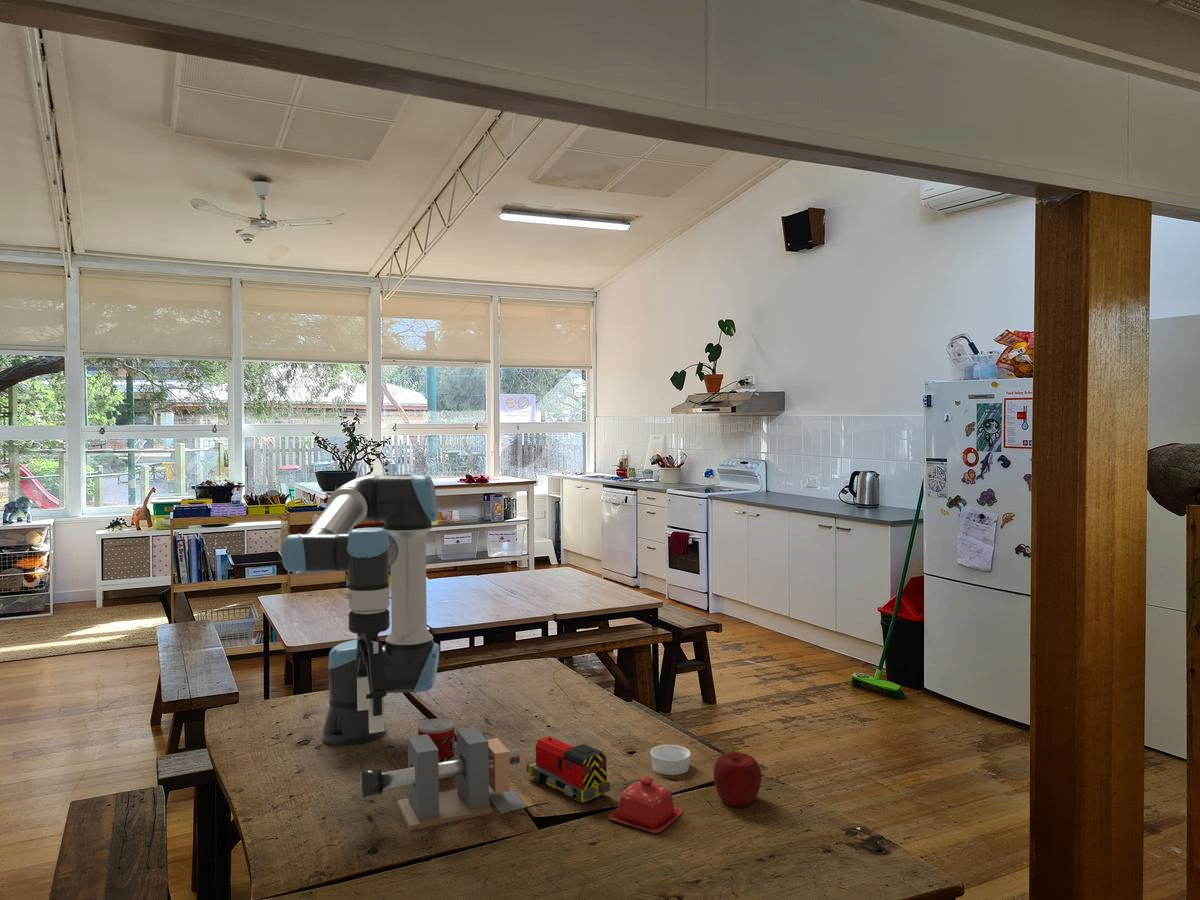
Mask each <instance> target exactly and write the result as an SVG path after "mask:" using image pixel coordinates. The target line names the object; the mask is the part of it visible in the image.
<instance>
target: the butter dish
mask: <svg viewBox="0 0 1200 900" xmlns="http://www.w3.org/2000/svg"><path fill="white" fill-rule="evenodd" d="M653 781H654V780H653V777H651V776H649V775H643V776H641V777H640V778H639V781H635V782H633V783H631V784H630V785H628V786H627V787H626V788H625V789H623V791H622V792H621V795H620V797H619V801H618V806H617V808H616V809H615V810H614V811H613V812H611V813H610V814H609V816H608V819H609V820H611V821H613V822H617V823H620V824H623V825H626V826H630V827H633V828H636V829H640V830H641V831H642V830H643V831H646V832H649V833H653V834H659V833H661V832H663V831H664V830H665V829H666V828H667V827H668V826H670V824H672V823H674V821H675V820H677V819H678V818H679V817H680V816H681V815H682V814H683V813H684V810H682V809H681V808H678V807H676V806H674V801H673V795H672V792H671V790H670V789H668V788H667V787H666V786H664V785H662V784H658V783H656V782H653Z"/></svg>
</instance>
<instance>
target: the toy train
mask: <svg viewBox="0 0 1200 900" xmlns="http://www.w3.org/2000/svg"><path fill="white" fill-rule="evenodd" d="M607 767H608V766H607V754H606V752H605V751H601V750H600V749H597V748H595V747H592V746H591V745H587V744H583V743H581V744H578V745H576V746H574V745H571V744H570V743H569V744H568V743H566V742H565V741H562V740H559V739H556V738H554V737H553V736H549V735H548V736H546V737H542V738H539V739H537V741H536V744H535V761H533V762H530V763H526V773H528V777H529V778H532V780H533V781H535V782H538V781H540V779H542V780H544V781H546V782H545V784H546V785H547V786H548V785H549V786H548V787H550V786H551V787H550V788H552V787H553V788H552V789H558V790H559V791H562V792H563V793H564V794H565V795H567V796H569V797H574V795H575V798H574V801H576V802H579V803H585V802H587V801H590V800H593V799H594V798H597V797H599V796H602V795H605V794H607V793H608V792H611V782H609V781H608V780H607V778H608V777H607V772H608V771H607V769H608V768H607Z"/></svg>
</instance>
